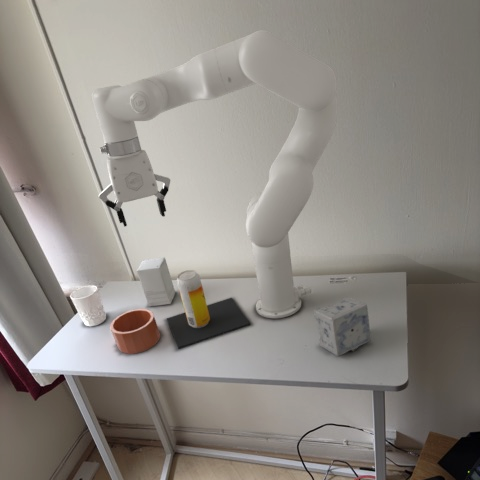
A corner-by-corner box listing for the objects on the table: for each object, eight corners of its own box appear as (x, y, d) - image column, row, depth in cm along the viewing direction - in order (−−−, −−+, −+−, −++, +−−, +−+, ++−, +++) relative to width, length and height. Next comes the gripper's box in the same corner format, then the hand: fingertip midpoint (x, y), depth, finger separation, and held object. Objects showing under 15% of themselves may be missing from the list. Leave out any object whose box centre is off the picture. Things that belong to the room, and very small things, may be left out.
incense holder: (348, 328, 103) (347, 292, 98) (372, 344, 97) (372, 306, 91) (315, 343, 101) (312, 306, 95) (337, 361, 94) (335, 322, 88)
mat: (231, 299, 125) (231, 297, 125) (250, 324, 112) (250, 323, 112) (166, 319, 121) (166, 318, 121) (178, 349, 108) (178, 347, 108)
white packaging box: (176, 292, 134) (165, 256, 128) (170, 304, 128) (159, 267, 122) (154, 294, 136) (143, 259, 129) (147, 306, 130) (135, 270, 123)
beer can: (214, 318, 117) (202, 269, 109) (203, 330, 112) (191, 281, 104) (195, 315, 119) (183, 268, 111) (184, 327, 115) (171, 279, 107)
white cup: (84, 330, 124) (72, 302, 118) (80, 319, 130) (68, 291, 124) (110, 320, 126) (99, 292, 121) (105, 310, 132) (94, 282, 127)
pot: (156, 323, 120) (150, 304, 117) (163, 344, 111) (156, 324, 107) (116, 336, 118) (108, 317, 115) (120, 359, 109) (112, 338, 105)
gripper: (86, 159, 91) (111, 233, 100) (163, 142, 95) (180, 215, 104) (84, 153, 97) (108, 224, 106) (157, 138, 101) (174, 207, 110)
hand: (144, 219), depth 105 cm, fingers open, 9 cm apart
